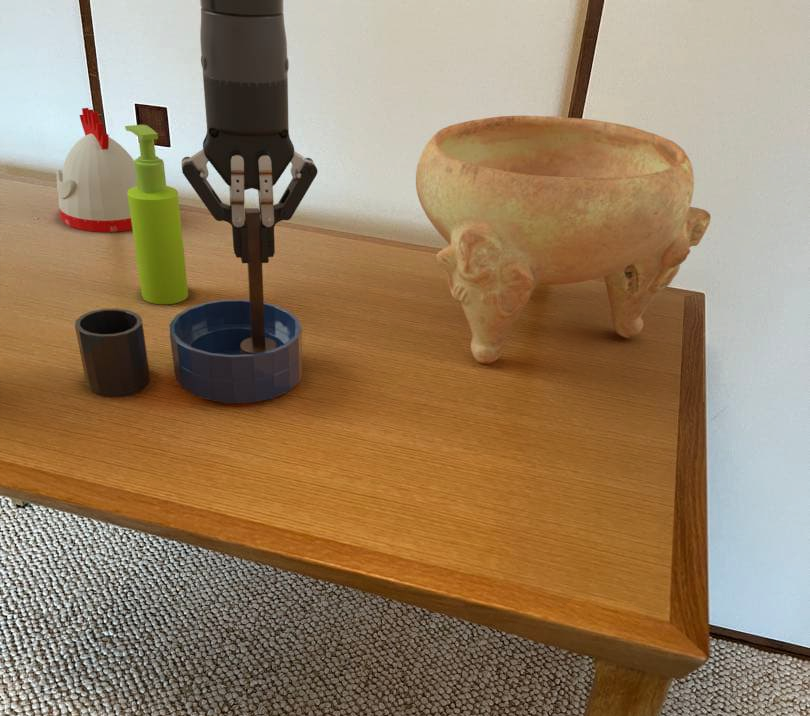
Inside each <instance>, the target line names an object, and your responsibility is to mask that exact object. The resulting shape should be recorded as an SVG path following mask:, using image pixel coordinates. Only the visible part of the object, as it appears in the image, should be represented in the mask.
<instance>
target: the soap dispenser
mask: <svg viewBox="0 0 810 716" xmlns="http://www.w3.org/2000/svg"><path fill="white" fill-rule="evenodd" d="M124 129H125V131H126V132H131V133H132V134H134V135H135V136H137V138H138V145H139V154H140V156H138V157H137V158H135V159H134V165H135V172H136V180H137V186H135V187H133V188H131V189H129V190H128V192H127V194H128V201H129V208H130V215H131V222H132V235H133V243H134V249H135V256H136V263H137V270H138V271H137V272H138V279H139V285H140V292H141V298H142V299H143V300H144V301H146V302H147V303H149V304H154V305H162V306H163V305H174V304H178V303H182V302H184V301H185V300H186V299H187V298H188V297H189V288H188V287H189V286H188V279H187V268H186V260H185V259H186V258H185V249H184V240H183V230H182V229H183V228H182V220H181V211H180V201H179V192H178V190H177V189H176V188H175V187H172V186H170V185H167V178H166V171H165V169H166V168H165V163H164V159H162V158H160V157H159V156H157V155H156V146H155V140H159V134H158V132H157V131H155V130H154V129H153V128H151V126H149V125H147V124H134V125H132V124H131V125H125V126H124Z"/></svg>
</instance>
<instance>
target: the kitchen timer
mask: <svg viewBox="0 0 810 716" xmlns="http://www.w3.org/2000/svg"><path fill="white" fill-rule="evenodd" d="M81 112H82V114H79V119H80V123H81V126H82V129H83V133H84V136H83V137H81V138H80V139H79V140H78V141H76V142H75V144H74V145H73V146H72V147H71V148H70V150H69V152H68V153H67V155H66V158H65V160H64V162H63V166H62V170H60V169H56V170H55V172H56V174H55V175H56V191H57V195H58V209H59V214H60V218H61V219H60V220H61V221H62V222H63V223H64V224H65V225H67V226H68V227H71V228H74V229H77V230H81V231H86V232H87V231H88V232H94V233H95V232H97V233H115V232H124V231H125V232H126V231H133V229H132V222H131V215H130V208H129V201H128V194H127V192H128V190H129V189H131V188H133V187H135V186H137V180H136V172H135V165H134V161H135V159H134V158H133V157H132V155H130V153H129V152H128V151H127V150H126V149H125V148H124V147H123V146H122V145H121V144H119V143H118V142H117V141H116V140H115V139H113V138H111V136H110V135H109V133H106V134H105V128H104V122H100V119H99V114H98V111H94V108H93V109H89V107H82V108H81Z"/></svg>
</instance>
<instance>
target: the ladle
mask: <svg viewBox="0 0 810 716" xmlns="http://www.w3.org/2000/svg"><path fill="white" fill-rule="evenodd" d="M244 218H245V223H246V227H247V233H248V253H249V263H246V265H247V281H248V300H249V302H250V320H251V338H247V339H245V340H243V341H242V342H241V344H240V350H241V355H244V354H255V353H260V352H265V351H270V350H272V349H275V348H277V344H276V342H275V341H274V340H272V339H270V338H266V337H265V322H264V302H265V300H264V277H263V263H262V260H261V236H260V209H259V207H258V208H257V207H255V208H254V207H253V208H249V207H247V208H245V207H244Z"/></svg>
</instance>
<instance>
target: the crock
mask: <svg viewBox="0 0 810 716" xmlns="http://www.w3.org/2000/svg"><path fill="white" fill-rule="evenodd" d="M74 322H75V323H74V329H75V334H76V340H77V344H78V349H79V354H80V358H81V359H80V360H81V365H82V368H83V369H82V370H83V372H84V378H85V382H86V385H87V388H88V389H89V390H90V391H91V392H92V393H93V394H96V395H98V396H102V397H108V398H109V397H110V398H119V397H128V396H131V395H136V394H137V393H141V392H143V391H144V390H145V389H147V387H149V385H150V384H151V371H150V366H149V359H148V352H147V351H148V350H147V343H146V338H145V337H146V336H145V330H144V322H143V317H141V315H139V314H138V313H137V312H135V311H131V310H129V309H123V308H116V307H115V308H100V309H95V310H91V311H89V312H86V313H83V314H81V315H80V316H79V317H78V318H76V320H75V321H74Z"/></svg>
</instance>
